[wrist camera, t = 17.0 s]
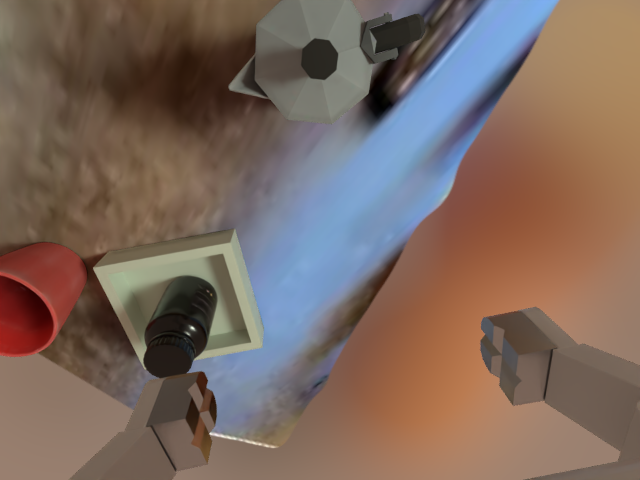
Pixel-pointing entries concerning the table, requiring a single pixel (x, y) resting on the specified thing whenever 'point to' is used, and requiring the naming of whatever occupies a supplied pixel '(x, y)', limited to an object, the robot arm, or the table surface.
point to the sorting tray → (178, 261)
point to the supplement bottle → (179, 326)
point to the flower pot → (37, 296)
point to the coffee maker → (320, 56)
